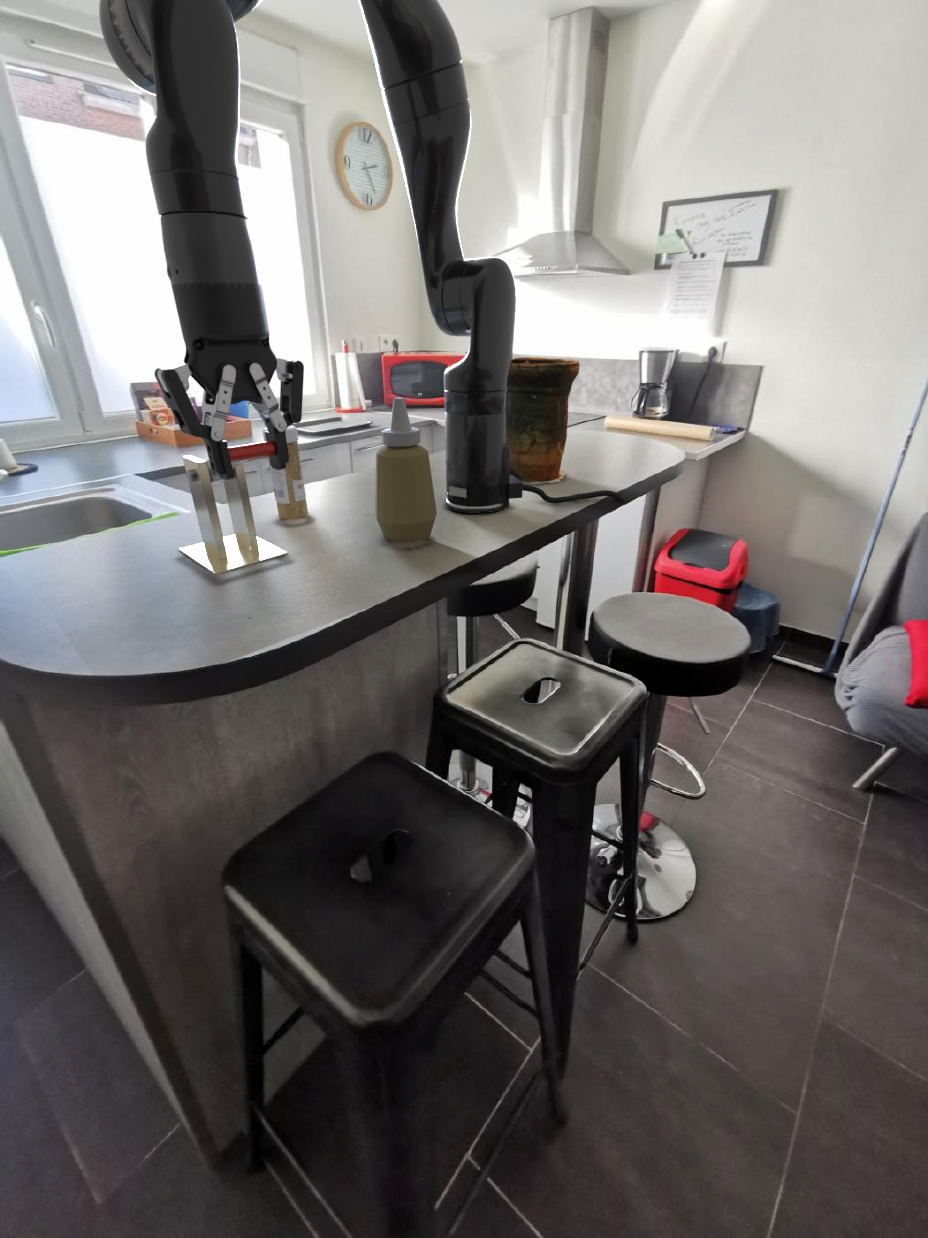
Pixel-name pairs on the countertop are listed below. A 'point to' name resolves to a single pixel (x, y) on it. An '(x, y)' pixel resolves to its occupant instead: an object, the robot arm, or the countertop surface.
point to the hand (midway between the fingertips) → (253, 472)
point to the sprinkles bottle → (289, 481)
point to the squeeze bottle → (403, 481)
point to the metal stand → (215, 548)
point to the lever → (244, 456)
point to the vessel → (538, 416)
